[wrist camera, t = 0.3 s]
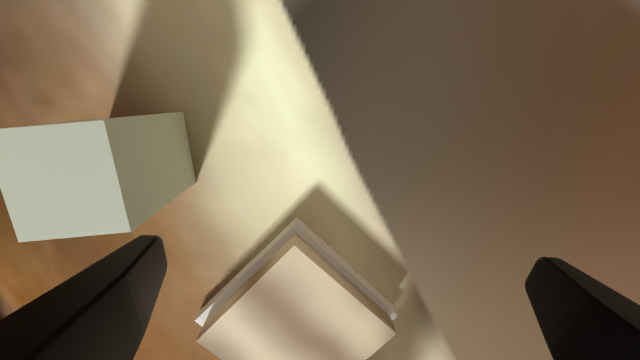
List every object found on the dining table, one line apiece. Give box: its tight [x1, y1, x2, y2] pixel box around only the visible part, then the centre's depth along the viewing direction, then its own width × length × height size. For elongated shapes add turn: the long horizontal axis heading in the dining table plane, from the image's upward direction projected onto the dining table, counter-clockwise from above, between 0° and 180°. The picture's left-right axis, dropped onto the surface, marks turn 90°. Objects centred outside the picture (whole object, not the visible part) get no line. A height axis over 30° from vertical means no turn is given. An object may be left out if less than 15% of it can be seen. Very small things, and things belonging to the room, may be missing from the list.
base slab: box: [195, 217, 398, 327], centre depth 26 cm, size 11×11×2 cm
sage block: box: [0, 112, 196, 242], centre depth 18 cm, size 5×5×9 cm
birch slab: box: [196, 233, 397, 360], centre depth 24 cm, size 10×10×2 cm
